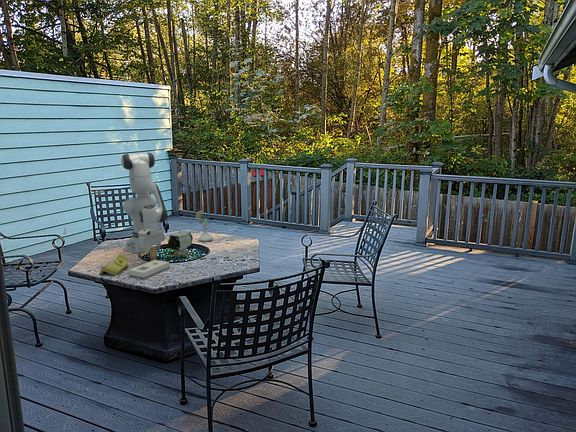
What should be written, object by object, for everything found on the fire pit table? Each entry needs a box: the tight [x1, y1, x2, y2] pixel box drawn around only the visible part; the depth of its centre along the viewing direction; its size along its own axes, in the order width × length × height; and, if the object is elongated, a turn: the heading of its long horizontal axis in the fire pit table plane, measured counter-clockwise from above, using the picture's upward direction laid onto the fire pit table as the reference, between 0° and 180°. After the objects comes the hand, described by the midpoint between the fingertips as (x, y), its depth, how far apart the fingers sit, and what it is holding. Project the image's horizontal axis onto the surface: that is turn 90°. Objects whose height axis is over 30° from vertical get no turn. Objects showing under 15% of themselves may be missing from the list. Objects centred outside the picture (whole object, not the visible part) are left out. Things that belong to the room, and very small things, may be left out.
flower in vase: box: [195, 209, 214, 242], centre depth 335 cm, size 13×11×25 cm
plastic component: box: [98, 254, 130, 276], centre depth 270 cm, size 20×7×10 cm
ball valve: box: [167, 230, 193, 258], centre depth 296 cm, size 18×8×18 cm, turn 154°
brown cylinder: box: [149, 246, 158, 262], centre depth 284 cm, size 4×4×10 cm
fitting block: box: [128, 259, 170, 280], centre depth 265 cm, size 22×12×4 cm, turn 153°
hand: (153, 250), depth 283 cm, fingers open, 8 cm apart
